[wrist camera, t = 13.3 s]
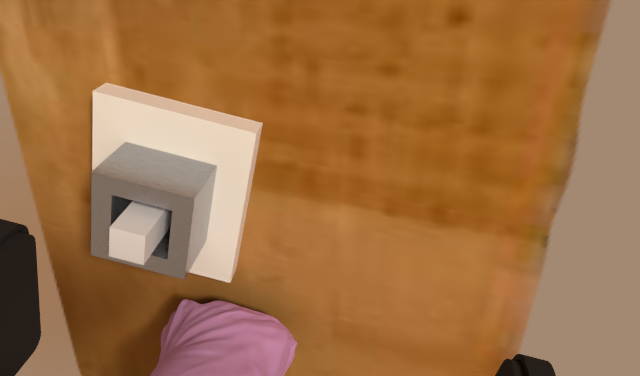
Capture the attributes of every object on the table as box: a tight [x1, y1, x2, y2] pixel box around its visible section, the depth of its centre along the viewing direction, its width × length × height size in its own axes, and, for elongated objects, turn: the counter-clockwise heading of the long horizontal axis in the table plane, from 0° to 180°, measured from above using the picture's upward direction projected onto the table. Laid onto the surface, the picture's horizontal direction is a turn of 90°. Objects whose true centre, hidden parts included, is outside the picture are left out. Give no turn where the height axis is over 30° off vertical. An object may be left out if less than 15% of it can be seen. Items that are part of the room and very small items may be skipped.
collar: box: [91, 142, 217, 280], centre depth 38 cm, size 7×7×5 cm
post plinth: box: [92, 83, 263, 283], centre depth 38 cm, size 14×12×9 cm
